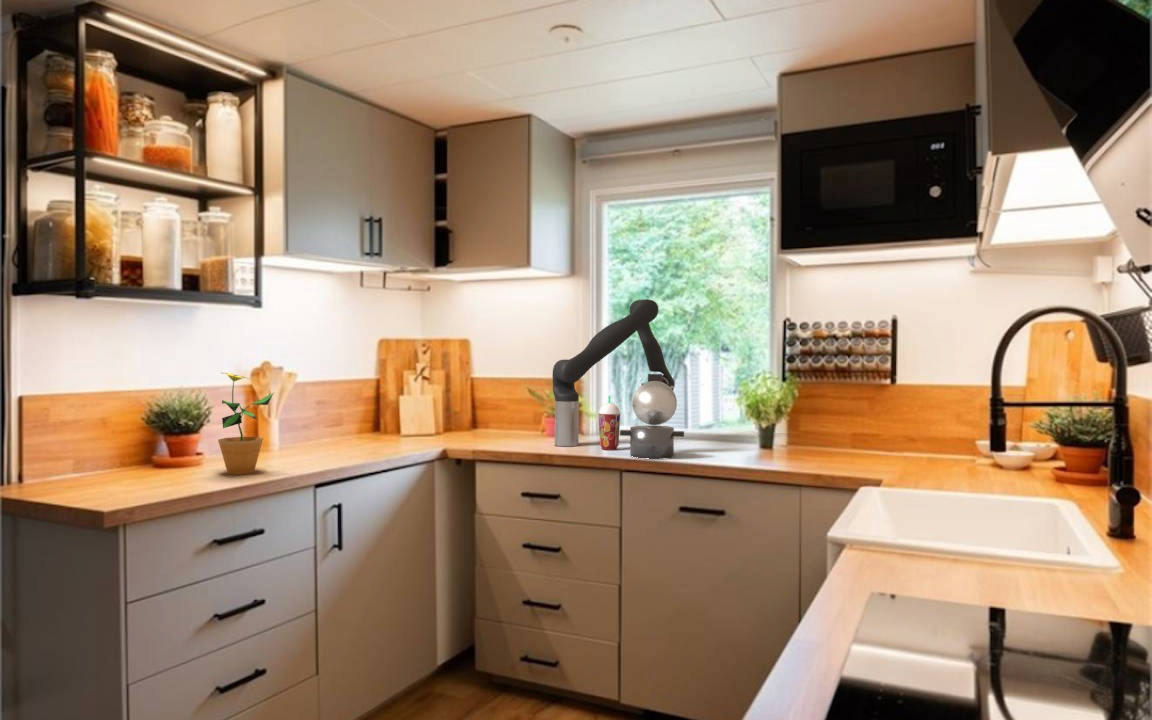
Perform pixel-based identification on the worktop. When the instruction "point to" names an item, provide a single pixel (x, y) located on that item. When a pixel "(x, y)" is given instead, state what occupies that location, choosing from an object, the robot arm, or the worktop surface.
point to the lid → (654, 401)
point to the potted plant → (240, 439)
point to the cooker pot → (652, 441)
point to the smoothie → (609, 426)
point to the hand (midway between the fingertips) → (655, 387)
